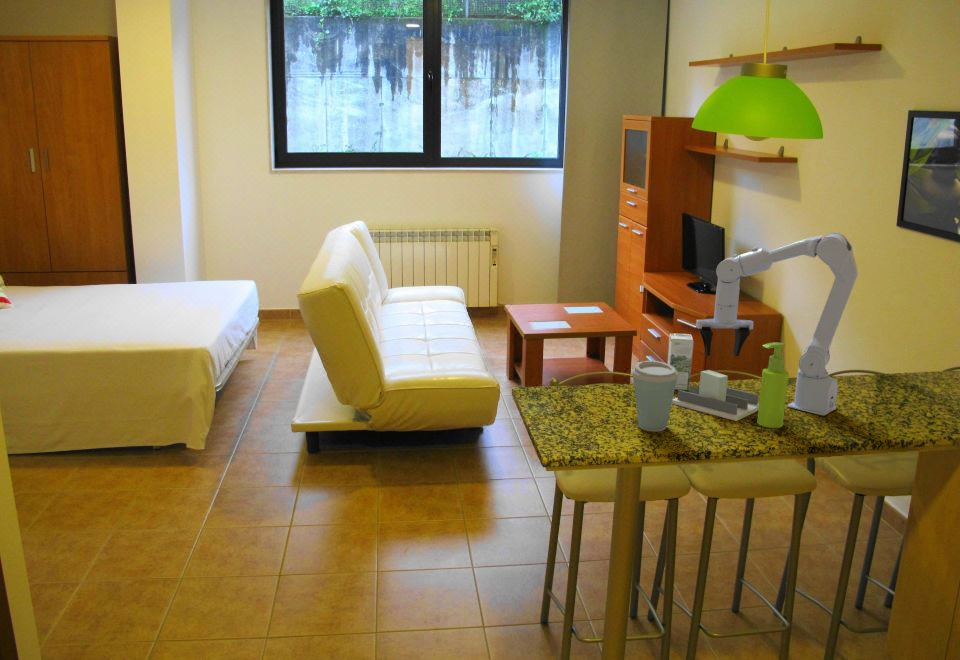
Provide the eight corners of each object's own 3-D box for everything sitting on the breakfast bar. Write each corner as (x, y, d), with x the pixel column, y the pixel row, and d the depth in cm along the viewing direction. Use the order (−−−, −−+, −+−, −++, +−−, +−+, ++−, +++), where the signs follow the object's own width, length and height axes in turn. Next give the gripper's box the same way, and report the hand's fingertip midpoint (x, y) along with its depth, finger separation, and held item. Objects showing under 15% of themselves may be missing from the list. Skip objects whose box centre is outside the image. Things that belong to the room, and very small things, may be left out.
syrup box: (686, 385, 244) (690, 333, 240) (689, 391, 238) (693, 338, 235) (665, 383, 244) (669, 332, 241) (667, 390, 239) (671, 337, 235)
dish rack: (762, 408, 226) (764, 394, 225) (736, 421, 216) (738, 407, 215) (699, 391, 238) (700, 379, 237) (671, 403, 228) (672, 390, 227)
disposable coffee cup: (684, 430, 209) (689, 368, 205) (649, 438, 203) (654, 375, 200) (652, 417, 217) (657, 357, 214) (618, 424, 212) (622, 363, 208)
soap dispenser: (748, 421, 216) (756, 341, 211) (771, 418, 219) (779, 339, 214) (764, 429, 211) (773, 347, 206) (788, 426, 213) (797, 345, 209)
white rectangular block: (698, 402, 226) (700, 371, 224) (706, 400, 228) (708, 369, 226) (716, 408, 222) (719, 377, 220) (724, 406, 223) (727, 375, 221)
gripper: (703, 307, 227) (698, 358, 231) (759, 308, 228) (754, 359, 231) (695, 301, 234) (691, 351, 238) (750, 302, 235) (745, 352, 238)
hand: (721, 355), depth 235 cm, fingers open, 7 cm apart
